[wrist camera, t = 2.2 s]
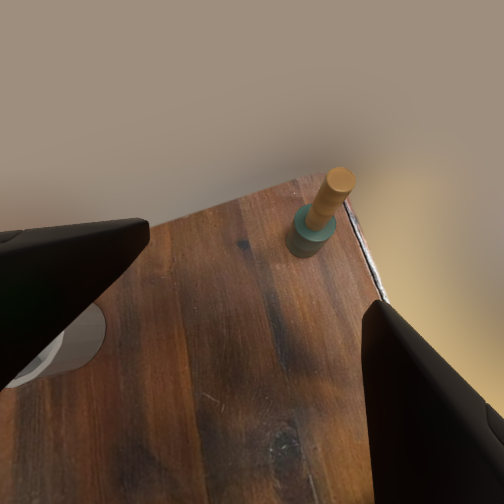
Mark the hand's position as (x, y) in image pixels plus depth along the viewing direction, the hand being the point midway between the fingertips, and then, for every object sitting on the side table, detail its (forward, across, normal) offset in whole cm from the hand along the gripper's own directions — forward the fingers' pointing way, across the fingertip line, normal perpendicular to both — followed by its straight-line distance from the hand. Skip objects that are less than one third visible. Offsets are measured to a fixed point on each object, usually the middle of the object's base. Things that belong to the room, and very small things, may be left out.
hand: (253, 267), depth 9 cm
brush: (+15, -3, +6) cm, 16 cm away
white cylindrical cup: (+3, +15, +16) cm, 23 cm away
